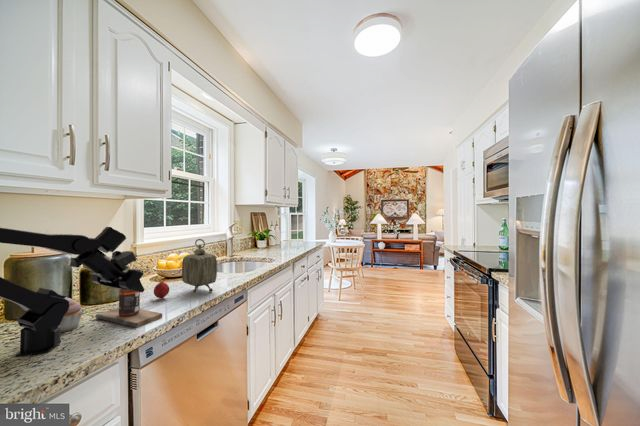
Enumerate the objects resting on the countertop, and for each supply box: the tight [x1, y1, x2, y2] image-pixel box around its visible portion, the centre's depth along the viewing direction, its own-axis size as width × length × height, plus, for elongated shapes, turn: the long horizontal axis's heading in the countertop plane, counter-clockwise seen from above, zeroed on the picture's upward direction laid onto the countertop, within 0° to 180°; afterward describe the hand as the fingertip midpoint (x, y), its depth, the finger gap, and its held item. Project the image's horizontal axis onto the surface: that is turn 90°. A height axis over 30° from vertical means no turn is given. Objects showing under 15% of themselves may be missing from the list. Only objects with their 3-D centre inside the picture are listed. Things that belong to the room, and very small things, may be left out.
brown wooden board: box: [94, 307, 163, 328], centre depth 92 cm, size 10×20×2 cm, turn 69°
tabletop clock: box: [181, 238, 218, 294], centre depth 125 cm, size 14×9×25 cm, turn 60°
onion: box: [153, 279, 170, 300], centre depth 113 cm, size 6×6×8 cm
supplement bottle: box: [118, 288, 141, 316], centre depth 92 cm, size 6×6×11 cm
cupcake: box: [58, 296, 86, 333], centre depth 83 cm, size 9×9×10 cm
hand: (134, 289), depth 94 cm, fingers open, 9 cm apart
